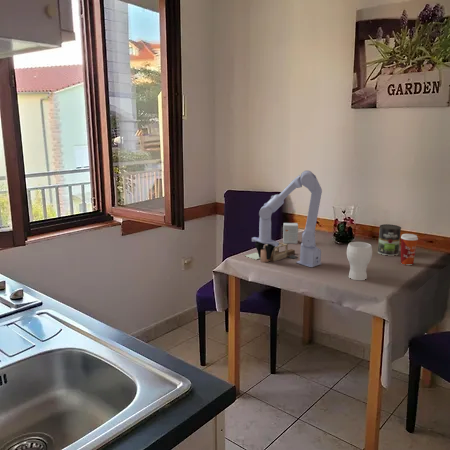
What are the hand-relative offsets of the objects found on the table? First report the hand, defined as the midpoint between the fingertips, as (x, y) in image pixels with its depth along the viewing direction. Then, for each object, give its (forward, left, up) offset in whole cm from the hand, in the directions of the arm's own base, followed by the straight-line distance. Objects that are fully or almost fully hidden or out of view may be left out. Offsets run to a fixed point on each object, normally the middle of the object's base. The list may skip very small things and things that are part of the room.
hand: (264, 258), depth 222 cm
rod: (0, -11, -2) cm, 11 cm away
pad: (+8, -2, -2) cm, 8 cm away
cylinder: (0, 0, -2) cm, 2 cm away
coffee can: (-33, -57, -2) cm, 66 cm away
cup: (-43, -14, -2) cm, 45 cm away
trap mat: (-5, -15, -2) cm, 16 cm away
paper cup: (-48, -48, -2) cm, 68 cm away
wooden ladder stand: (0, -8, -2) cm, 8 cm away
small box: (+14, -35, -2) cm, 38 cm away
